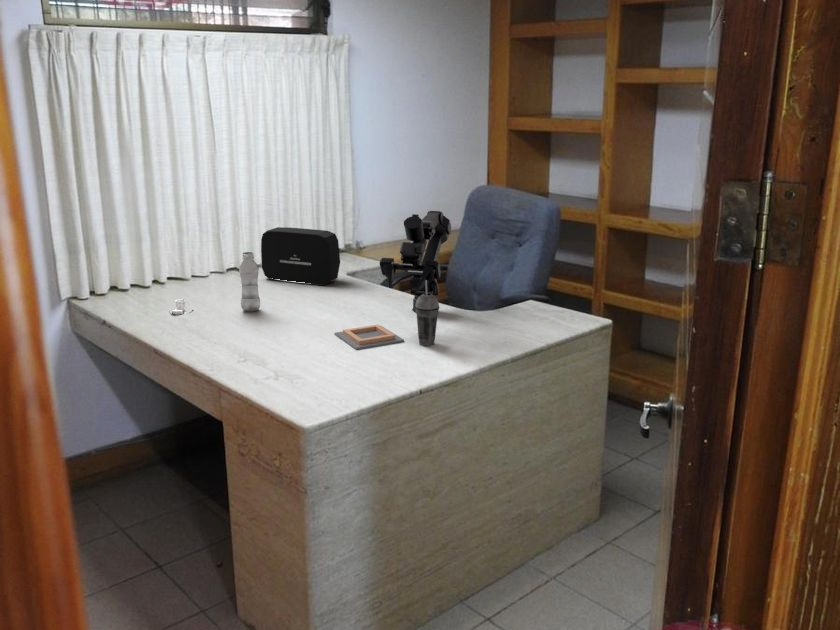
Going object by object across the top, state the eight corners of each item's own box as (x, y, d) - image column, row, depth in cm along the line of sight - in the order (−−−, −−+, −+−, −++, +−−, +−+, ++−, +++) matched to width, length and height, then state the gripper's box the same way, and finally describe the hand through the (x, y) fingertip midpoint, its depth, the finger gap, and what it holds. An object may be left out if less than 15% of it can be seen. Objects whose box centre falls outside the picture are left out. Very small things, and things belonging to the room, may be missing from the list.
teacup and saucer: (177, 317, 258) (176, 305, 257) (162, 313, 262) (160, 301, 261) (198, 311, 265) (197, 299, 264) (182, 307, 269) (181, 296, 268)
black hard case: (261, 279, 305) (259, 229, 299) (277, 272, 316) (275, 224, 310) (330, 287, 295) (329, 235, 289) (344, 280, 306) (343, 229, 300)
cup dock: (380, 327, 248) (380, 321, 247) (404, 341, 235) (404, 336, 234) (334, 334, 240) (334, 329, 240) (355, 349, 227) (355, 344, 227)
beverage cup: (442, 341, 235) (443, 277, 229) (434, 349, 228) (435, 283, 222) (419, 338, 237) (419, 275, 231) (411, 346, 231) (411, 281, 225)
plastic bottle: (237, 312, 263) (233, 254, 257) (248, 307, 269) (245, 250, 263) (253, 314, 260) (250, 256, 254) (264, 309, 266) (261, 252, 260)
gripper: (382, 231, 243) (370, 267, 233) (441, 235, 238) (430, 272, 229) (388, 256, 251) (376, 292, 242) (444, 260, 247) (434, 297, 237)
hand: (404, 288), depth 237 cm, fingers open, 9 cm apart
